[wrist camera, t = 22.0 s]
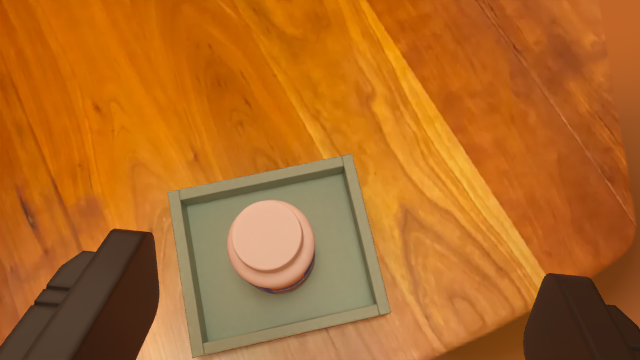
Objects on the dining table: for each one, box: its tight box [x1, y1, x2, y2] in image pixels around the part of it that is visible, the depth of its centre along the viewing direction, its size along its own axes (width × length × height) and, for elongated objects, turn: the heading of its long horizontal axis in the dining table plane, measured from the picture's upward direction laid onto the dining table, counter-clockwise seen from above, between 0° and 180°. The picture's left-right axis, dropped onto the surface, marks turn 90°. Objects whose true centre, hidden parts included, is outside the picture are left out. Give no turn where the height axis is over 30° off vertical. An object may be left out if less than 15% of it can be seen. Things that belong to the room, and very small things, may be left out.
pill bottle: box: [227, 200, 315, 294], centre depth 35 cm, size 5×5×10 cm
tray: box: [168, 154, 391, 358], centre depth 39 cm, size 14×12×2 cm
